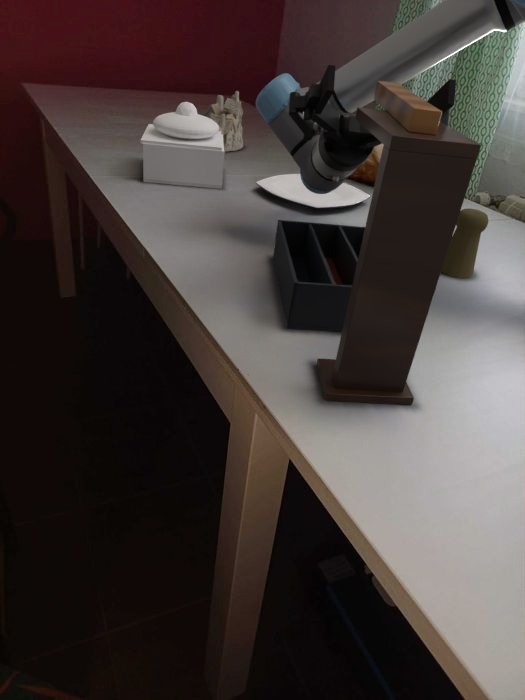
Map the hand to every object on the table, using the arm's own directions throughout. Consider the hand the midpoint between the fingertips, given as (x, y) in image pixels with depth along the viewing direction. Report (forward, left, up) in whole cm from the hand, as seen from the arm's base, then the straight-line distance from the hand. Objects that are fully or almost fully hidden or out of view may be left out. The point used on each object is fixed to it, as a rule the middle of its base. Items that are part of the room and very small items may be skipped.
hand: (392, 84), depth 58 cm
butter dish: (+47, -54, -30) cm, 78 cm away
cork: (-16, -29, -30) cm, 45 cm away
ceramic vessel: (+2, -81, -30) cm, 87 cm away
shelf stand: (-3, +9, -30) cm, 32 cm away
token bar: (-2, +4, -2) cm, 5 cm away
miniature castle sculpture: (+52, -89, -30) cm, 108 cm away
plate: (+16, -56, -30) cm, 66 cm away
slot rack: (+3, -9, -30) cm, 32 cm away
